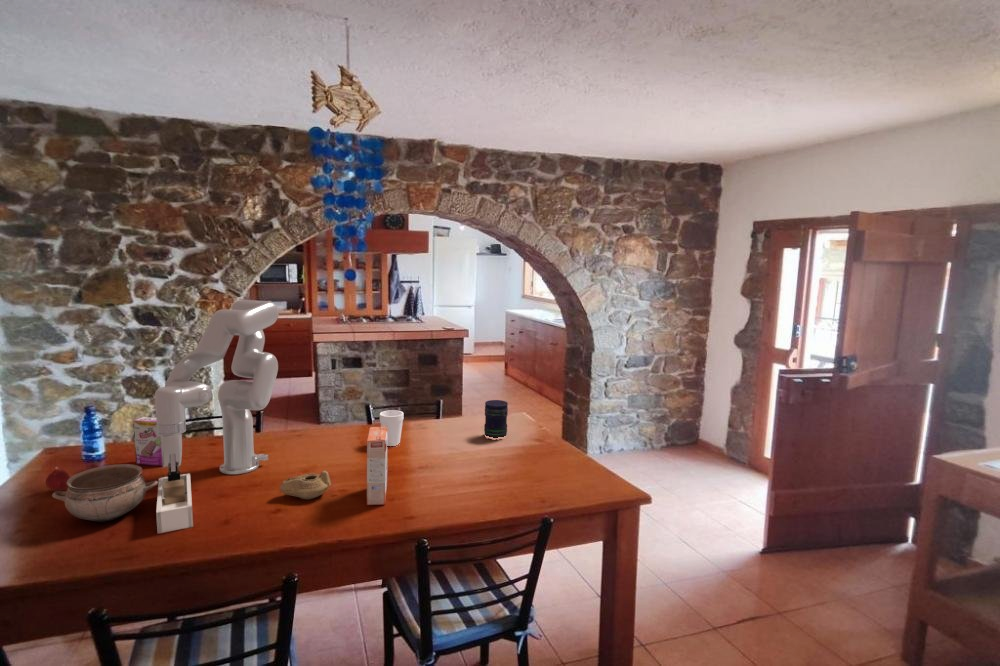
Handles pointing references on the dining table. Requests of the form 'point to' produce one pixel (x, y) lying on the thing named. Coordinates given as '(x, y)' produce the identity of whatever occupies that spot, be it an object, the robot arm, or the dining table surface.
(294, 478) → the oil lamp
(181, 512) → the box
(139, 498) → the cooking pot
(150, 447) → the candy bar box
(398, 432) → the foam cup
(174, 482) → the walnut block
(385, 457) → the cracker box
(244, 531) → the dining table surface
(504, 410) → the storage jar
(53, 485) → the onion
